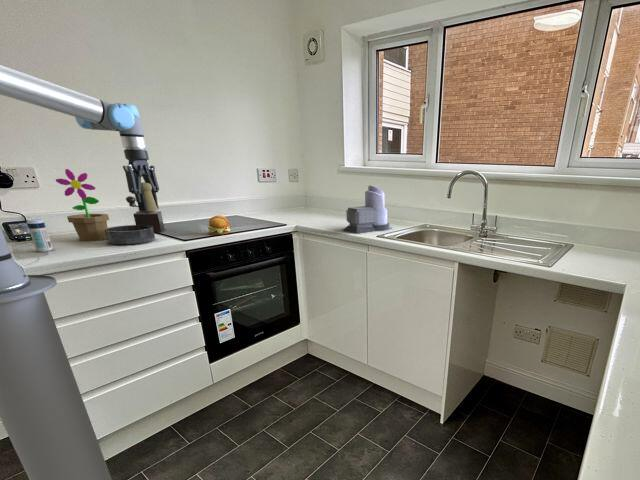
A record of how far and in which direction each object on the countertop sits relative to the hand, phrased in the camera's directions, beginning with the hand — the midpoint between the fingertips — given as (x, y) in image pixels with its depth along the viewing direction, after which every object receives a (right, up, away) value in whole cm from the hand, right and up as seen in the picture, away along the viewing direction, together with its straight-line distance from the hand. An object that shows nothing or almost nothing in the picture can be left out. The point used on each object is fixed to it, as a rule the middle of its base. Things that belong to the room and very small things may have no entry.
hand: (149, 209), depth 145 cm
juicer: (+86, +4, +60) cm, 105 cm away
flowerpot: (-36, -10, +15) cm, 40 cm away
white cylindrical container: (-35, -19, -8) cm, 41 cm away
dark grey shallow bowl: (-16, -11, +12) cm, 23 cm away
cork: (0, -1, 0) cm, 1 cm away
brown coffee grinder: (-23, -3, +33) cm, 40 cm away
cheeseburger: (+12, -4, +34) cm, 36 cm away
